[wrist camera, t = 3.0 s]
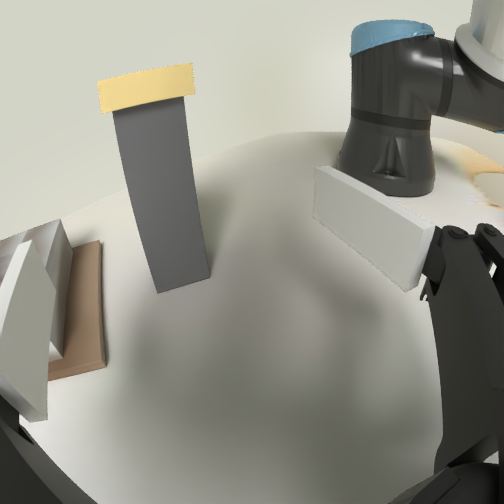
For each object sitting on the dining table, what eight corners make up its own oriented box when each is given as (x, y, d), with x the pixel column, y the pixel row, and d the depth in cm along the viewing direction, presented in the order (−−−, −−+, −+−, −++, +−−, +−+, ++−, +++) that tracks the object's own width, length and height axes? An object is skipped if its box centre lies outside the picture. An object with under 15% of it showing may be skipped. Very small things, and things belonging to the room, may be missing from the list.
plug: (200, 245, 28) (175, 67, 19) (219, 279, 24) (192, 63, 15) (142, 261, 27) (102, 83, 17) (151, 300, 22) (97, 81, 13)
